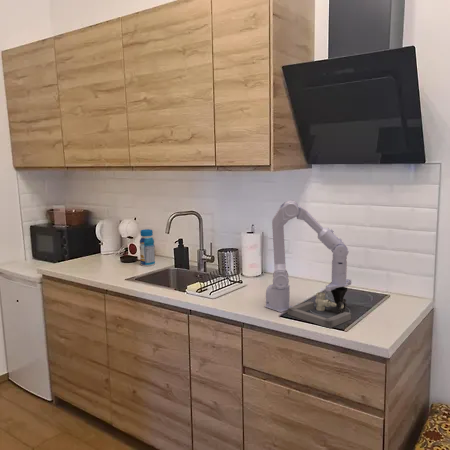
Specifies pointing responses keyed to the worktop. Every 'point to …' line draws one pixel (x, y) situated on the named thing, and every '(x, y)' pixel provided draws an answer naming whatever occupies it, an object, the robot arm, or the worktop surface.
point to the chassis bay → (301, 313)
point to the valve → (329, 303)
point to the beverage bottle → (147, 248)
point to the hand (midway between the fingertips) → (338, 305)
